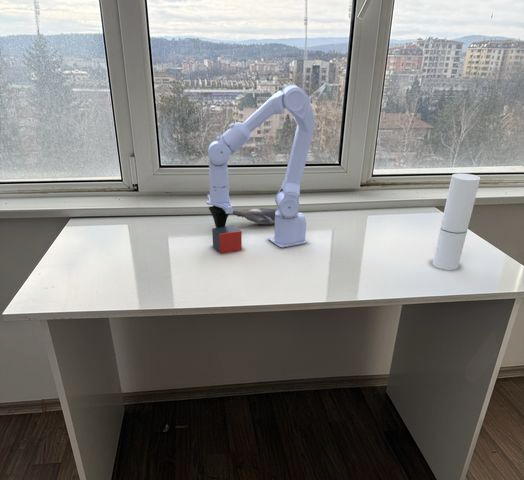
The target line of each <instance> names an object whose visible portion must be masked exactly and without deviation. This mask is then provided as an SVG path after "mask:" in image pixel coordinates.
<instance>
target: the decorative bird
mask: <svg viewBox="0 0 524 480" xmlns="http://www.w3.org/2000/svg"><path fill="white" fill-rule="evenodd" d="M277 209H278V208H264V207H262V208H247V209H243V210H233V213H232V214H233V215H234V216H237V217H238V218H242V219H243V218H244V219H246V220H248V221H250V222H253V223H256V224H259V225H273V224H274V225H275V212H276V211H277Z"/></svg>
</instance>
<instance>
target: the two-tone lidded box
mask: <svg viewBox="0 0 524 480" xmlns="http://www.w3.org/2000/svg"><path fill="white" fill-rule="evenodd" d="M211 229H212V230H211V232H212V233H211V234H212V248H213V249H214V250H215V251H217V252H218V253H219V254H221V255H222V254H227V253H228V254H229V253H233V252H234V253H235V252H239V251H242V250H243V249H242V248H243V247H242V246H243V241H242V235H243V233H242V232H243V231H242V230H240V228H238V227H236V226H235V225H233V224H231V225H225V227H219V228H216V227H213V228H211Z"/></svg>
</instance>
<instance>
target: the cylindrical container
mask: <svg viewBox="0 0 524 480" xmlns="http://www.w3.org/2000/svg"><path fill="white" fill-rule="evenodd" d="M449 182H450V183H449V187H448V192H447V195H446V202H445V204H444V205H445V206H444V210H443V214H442V218H441V223H440V228H439V233H438V238H437V240H436V241H437V242H436V246H435V251H434V254H433V260H432V265H433V266H434V267H435V268H438V269H440V270H445V271H452V270H453V271H455V270H457V269H458V268H459V265H460V262H461V257H462V253H463V249H464V246H465V242H466V237H467V233H468V230H469V225H470V221H471V217H472V214H473V209H474V206H475V202H476V197H477V192H478V191H479V185H480V182H481V177H480V175H479V176H478V175H476V174H471V173H461V172H460V173H453V174H452V175H451V178H450V181H449Z"/></svg>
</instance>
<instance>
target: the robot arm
mask: <svg viewBox="0 0 524 480" xmlns="http://www.w3.org/2000/svg"><path fill="white" fill-rule="evenodd" d="M311 101H312V100H311V99H310V97H309V96H308V94H307V93H306V91H305V90H304V89H303V88H302V87H299V86H298V85H296V84H293V83H290V84H286V85H285V86H283V88H282V89H281V90H278V91H276V92H275V93H274V94H273V95H271V97H269V98H268V99H267V100H266V101H265V102H264V103H262V105H261V106H259V108H257V109H256V110H255V111H254V112H253V113H252V114H251V115H249V116H248V118H247V119H245V121H244V122H239V121H237V122H235V123H233V122H231V123H230V124H229V125H228V127H229V128H228V129H227V130H226V131H225V132H224V133H222V134H221V135H218V136H217V137H215V138H216V140H213V141H212V142H211V143H210V144H209V145H208V148H207V152H206V153H207V157H208V160H209V161H208V168H209V169H208V184H209V186H208V187H209V194H206V198H207V200H206V202H205V203H206V205H207V206H209V207H208V210H209V211H210V214H211V216H212V218H213V221H214V226H215V228H219V227H225V226H227V225H226V224H227V220H228V217H229V215H230V214H233V211H234V206H233V205H232V204H231V200H230V181H229V180H230V179H229V177H230V176H229V168H228V161H229V159H230V156H231V155H234V154H235V153H236V152H237V151H238V150H239V149H240V148H242V147H243V146H245V144H246V143H248V142H249V141H250V140H251V133H252V132H254V130H256V129H257V128H258V127H260V126H261V125H262V124H264V122H266V121H267V120H268V119H270V118H271V117H273V116H274V115H282V114H286V112H285V109H286V111H287V112H288V113H290V114H291V116H292V118H293V120H294V121H295V123H296V129H295V133H294V137H293V142H292V146H291V150H290V155H289V157H288V163H287V166H286V171H285V176H284V180H283V181H282V183H281V185H280V189H279V190H278V191H277V193H276V194H275V199H274V201H275V204H276V206H277V208H276V209H277V211H276V212H275V223H274V237H269V238H268V240H269V241H270V242H272V243H273V244H275V245H276V246H277V247H279V248H282V249H283V248H288V247H294V246H298V245H305V244H307V241H306V235H307V234H306V233H307V219H306V216H305V215H304V214H303V212H300V206H301V205H300V196H301V182H302V178H303V175H304V172H305V171H304V170H305V167H306V163H307V159H308V155H309V152H310V147H311V143H312V139H313V136H314V131H315V127H316V122H317V121H316V117H315V114H314V110H313V107H312V102H311Z"/></svg>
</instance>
